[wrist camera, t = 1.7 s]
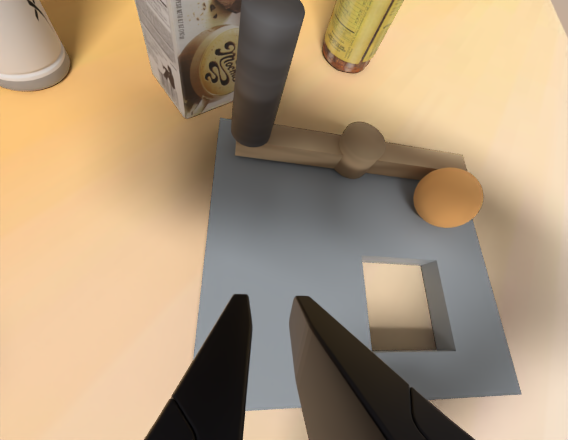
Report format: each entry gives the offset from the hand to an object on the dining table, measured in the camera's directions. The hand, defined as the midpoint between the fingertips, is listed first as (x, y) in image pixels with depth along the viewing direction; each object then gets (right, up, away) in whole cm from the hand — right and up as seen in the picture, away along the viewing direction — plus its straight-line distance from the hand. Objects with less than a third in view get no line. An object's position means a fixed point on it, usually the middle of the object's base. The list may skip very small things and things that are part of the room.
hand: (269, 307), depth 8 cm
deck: (+6, 0, +16) cm, 18 cm away
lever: (+6, +8, +17) cm, 20 cm away
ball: (+14, +4, +15) cm, 21 cm away
